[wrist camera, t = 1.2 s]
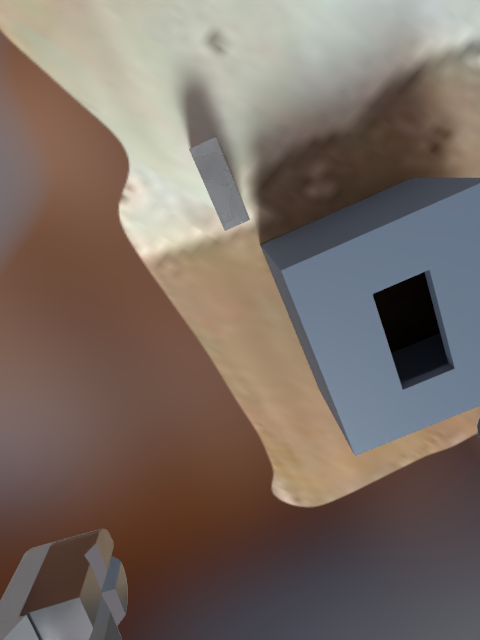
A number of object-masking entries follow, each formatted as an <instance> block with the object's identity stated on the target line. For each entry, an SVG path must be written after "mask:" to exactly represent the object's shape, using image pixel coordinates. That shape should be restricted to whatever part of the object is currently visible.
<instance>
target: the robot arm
mask: <svg viewBox="0 0 480 640" xmlns="http://www.w3.org/2000/svg"><path fill="white" fill-rule="evenodd" d="M477 429H478V436H479V437H480V418H479V421H478V425H477ZM113 546H114V543H113V541H112V538H111V536H110V534H109V532H108V531H107V530H105V529H100V530H96V531H92V532H88V533H85V534H81V535H77V536H74V537H70V538H66V539H62V540H59V541H56V542H52V543H49V544H45V545H41V546H38V547H35V548H31V549H30V550H29V551H27V552H26V553H25V554H24V556H23V558H22V560H21V562H20V564H19V566H18V568H17V570H16V572H15V573H14V575H13V577H12V579H11V581H10V583H9V585H8V587H7V589H6V591H5V593H4V595H3V597H2V599H1V601H0V640H121V636H120V633H119V631H118V628H117V626H118V624H119V623H120V622H121V620H122V619H123V617H124V616H125V614H126V608H127V601H128V596H127V595H128V594H127V580H126V575H125V571H124V568H123V566H122V563H121V561H120V560H118V559H116V558H115V557H113V556H111V554H112V550H113Z"/></svg>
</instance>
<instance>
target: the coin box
mask: <svg viewBox="0 0 480 640" xmlns="http://www.w3.org/2000/svg"><path fill="white" fill-rule="evenodd" d="M260 246H261V248H262V251H263V253H264V255H265V258H266V260H267V263H268V265H269V268H270V270H271V273H272V275H273V277H274V280H275V282H276V285H277V287H278V290H279V292H280V295H281V297H282V299H283V302H284V304H285V307H286V309H287V312H288V314H289V317H290V319H291V321H292V324H293V326H294V329H295V331H296V334H297V336H298V339H299V341H300V343H301V346H302V348H303V351H304V353H305V356H306V358H307V360H308V363H309V365H310V368H311V370H312V373H313V375H314V378H315V380H316V382H317V385H318V387H319V390H320V392H321V394H322V396H323V397H324V399H325V401H326V403H327V405H328V407H329V409H330V410H331V412H332V414H333V416H334V418H335V420H336V421H337V423H338V425H339V427H340V429H341V431H342V433H343V434H344V436H345V438H346V440H347V442H348V444H349V446H350V447H351V449H352V451H353V453H354V455H355V456H356V455H358V454H361V453H363V452H366V451H368V450H371V449H373V448H376V447H378V446H381V445H383V444H386V443H388V442H391V441H393V440H396V439H398V438H401V437H403V436H406V435H408V434H411V433H413V432H416V431H418V430H421V429H423V428H425V427H428V426H430V425H433V424H435V423H438V422H440V421H443V420H445V419H448V418H450V417H453V416H455V415H458V414H460V413H463V412H465V411H468V410H470V409H473V408H475V407H478V406H480V178H410V179H408V180H406V181H403V182H401V183H399V184H397V185H394V186H392V187H390V188H388V189H385V190H383V191H381V192H379V193H376V194H374V195H372V196H370V197H367V198H365V199H363V200H361V201H358V202H356V203H354V204H352V205H349V206H347V207H345V208H343V209H340V210H338V211H336V212H334V213H331V214H329V215H327V216H325V217H322V218H320V219H318V220H316V221H313V222H311V223H309V224H307V225H305V226H302V227H300V228H298V229H296V230H293V231H291V232H289V233H287V234H284V235H282V236H280V237H278V238H275V239H273V240H271V241H269V242H266V243H264V244H262V245H260ZM423 272H425V276H426V280H427V283H428V287H429V291H430V295H431V299H432V303H433V306H434V310H435V314H436V318H437V322H438V326H439V329H440V333H438V334H436V335H434V336H431V337H429V338H427V339H424V340H422V341H419V342H417V343H415V344H412V345H410V346H407V347H405V348H403V349H400V350H398V351H395V352H393V353H391V351H390V348H389V345H388V342H387V339H386V335H385V332H384V329H383V326H382V323H381V320H380V316H379V313H378V310H377V307H376V304H375V301H374V298H373V294H374V293H376V292H379V291H381V290H383V289H386V288H388V287H390V286H393V285H395V284H397V283H400V282H402V281H404V280H407V279H409V278H411V277H414V276H416V275H418V274H421V273H423Z"/></svg>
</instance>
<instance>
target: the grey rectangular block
mask: <svg viewBox="0 0 480 640" xmlns="http://www.w3.org/2000/svg"><path fill="white" fill-rule="evenodd" d="M189 150H190V152H191V154H192V157H193V159H194V161H195V164H196V166H197V168H198V170H199V173H200V175H201V177H202V180H203V182H204V184H205V186H206V189H207V191H208V193H209V196H210V198H211V200H212V202H213V205H214V207H215V209H216V212H217V214H218V216H219V218H220V221H221V223H222V225H223V228H224V230H225V231H226V230H228V229H230V228H233V227H235V226H237V225H239V224H241V223H244V222H246V221H248V220H250V218H249V216H248V214H247V211H246V209H245V206H244V204H243V201H242V199H241V196H240V194H239V192H238V189H237V187H236V184H235V182H234V179H233V177H232V175H231V172H230V170H229V167H228V165H227V162H226V160H225V157H224V155H223V153H222V150H221V148H220V145H219V143H218V140H217V138H216V137H214V138H211V139H209V140H207V141H205V142H203V143H201V144H199V145H196V146H194V147H192V148H190V149H189Z"/></svg>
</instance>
